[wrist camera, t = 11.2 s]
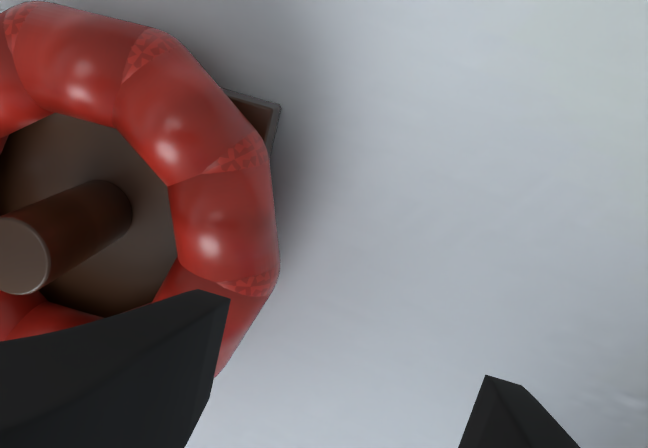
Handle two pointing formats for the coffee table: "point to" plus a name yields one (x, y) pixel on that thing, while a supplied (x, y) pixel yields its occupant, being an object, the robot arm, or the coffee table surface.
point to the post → (90, 213)
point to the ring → (148, 152)
